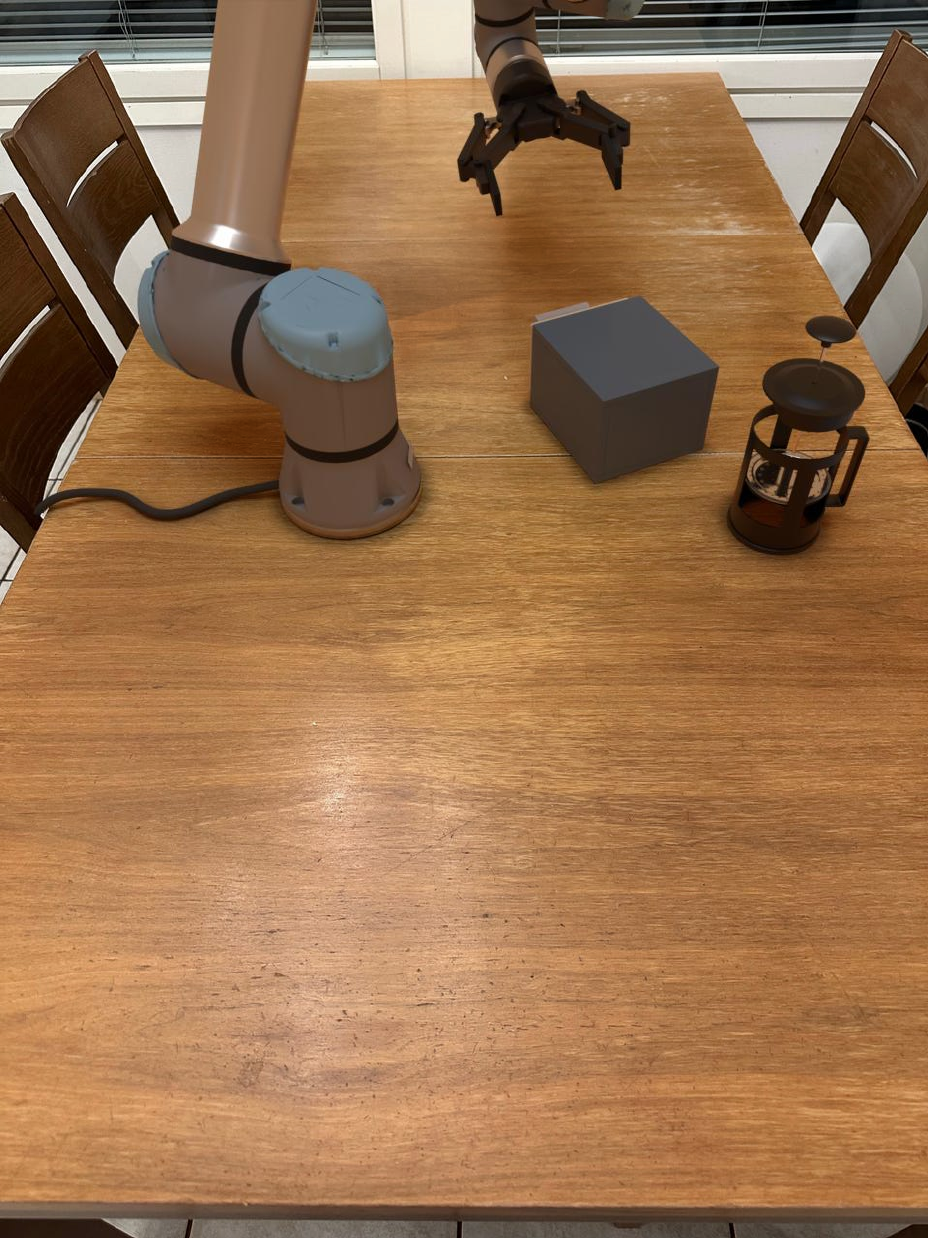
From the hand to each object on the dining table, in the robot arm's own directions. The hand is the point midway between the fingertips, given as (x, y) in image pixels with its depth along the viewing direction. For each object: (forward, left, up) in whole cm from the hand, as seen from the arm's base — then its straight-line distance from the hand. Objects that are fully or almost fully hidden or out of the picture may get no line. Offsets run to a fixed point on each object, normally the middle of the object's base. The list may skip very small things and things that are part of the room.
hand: (558, 192), depth 105 cm
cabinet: (+7, -16, -20) cm, 26 cm away
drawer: (+5, -12, -19) cm, 23 cm away
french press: (+23, -32, -20) cm, 44 cm away
